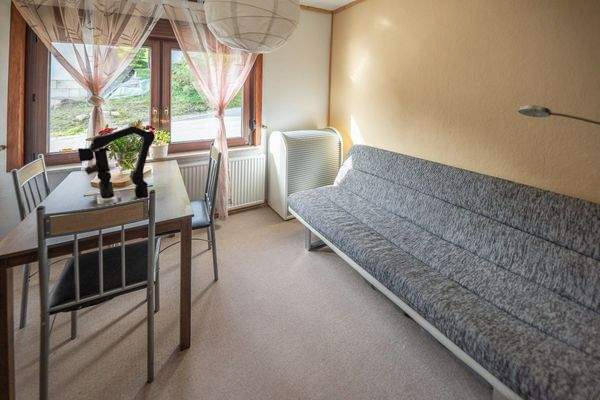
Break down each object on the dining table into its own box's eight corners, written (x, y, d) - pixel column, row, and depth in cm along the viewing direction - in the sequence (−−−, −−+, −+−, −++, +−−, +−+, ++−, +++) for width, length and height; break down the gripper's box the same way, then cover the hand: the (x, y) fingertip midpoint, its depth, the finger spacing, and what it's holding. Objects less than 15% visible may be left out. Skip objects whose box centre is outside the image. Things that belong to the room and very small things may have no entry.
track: (120, 196, 201) (119, 190, 200) (121, 203, 189) (121, 197, 188) (94, 199, 195) (93, 193, 194) (94, 206, 183) (93, 200, 182)
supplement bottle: (111, 194, 196) (108, 174, 192) (116, 197, 192) (114, 176, 188) (98, 196, 191) (95, 176, 187) (104, 199, 187) (101, 179, 183)
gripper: (84, 157, 189) (89, 184, 193) (83, 164, 173) (89, 193, 178) (107, 156, 194) (111, 182, 199) (108, 162, 179) (113, 190, 183)
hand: (106, 187), depth 190 cm, fingers closed on supplement bottle, 7 cm apart
